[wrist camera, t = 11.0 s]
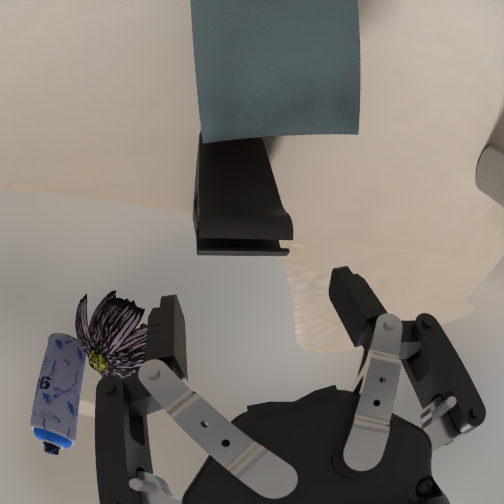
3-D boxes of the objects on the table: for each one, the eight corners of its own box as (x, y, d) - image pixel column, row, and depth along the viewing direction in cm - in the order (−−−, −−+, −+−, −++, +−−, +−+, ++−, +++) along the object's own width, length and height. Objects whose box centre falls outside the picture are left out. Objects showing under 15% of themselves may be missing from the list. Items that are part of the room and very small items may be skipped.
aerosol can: (63, 328, 34) (40, 445, 18) (96, 354, 39) (86, 463, 23) (41, 339, 35) (19, 442, 19) (71, 363, 39) (59, 460, 23)
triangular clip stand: (199, 132, 23) (204, 172, 14) (261, 138, 25) (308, 182, 15) (192, 216, 28) (195, 297, 19) (247, 218, 30) (276, 296, 20)
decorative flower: (91, 318, 21) (176, 415, 26) (148, 259, 31) (205, 348, 37) (38, 330, 26) (105, 406, 31) (85, 284, 36) (137, 355, 41)
